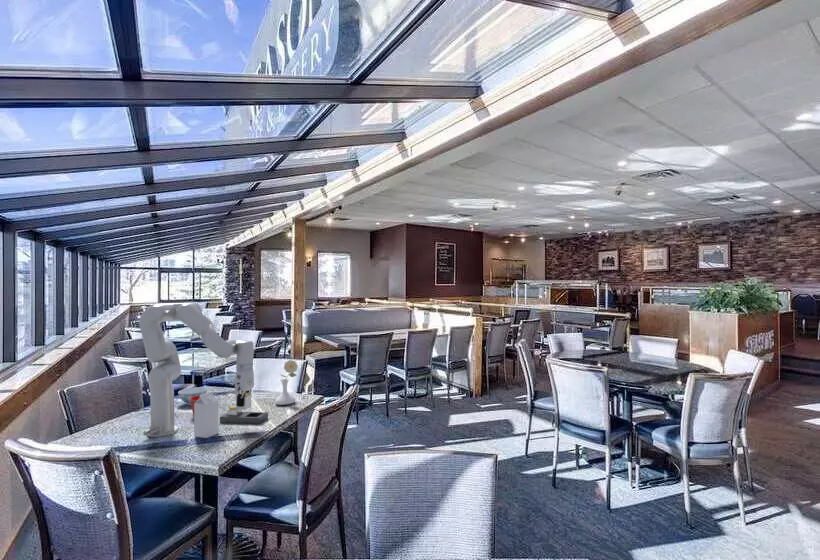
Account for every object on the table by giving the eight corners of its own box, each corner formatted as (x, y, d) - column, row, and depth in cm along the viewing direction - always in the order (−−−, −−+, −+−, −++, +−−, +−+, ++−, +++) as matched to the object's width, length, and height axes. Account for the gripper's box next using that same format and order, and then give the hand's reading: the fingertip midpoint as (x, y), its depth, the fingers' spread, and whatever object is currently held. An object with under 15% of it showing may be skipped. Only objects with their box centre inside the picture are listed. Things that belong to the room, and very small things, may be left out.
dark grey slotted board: (259, 424, 206) (259, 418, 206) (219, 422, 209) (219, 416, 209) (268, 418, 215) (268, 412, 215) (230, 417, 218) (229, 411, 218)
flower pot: (193, 420, 214) (192, 401, 214) (188, 415, 223) (188, 396, 223) (215, 415, 221) (215, 397, 221) (209, 411, 229) (209, 393, 229)
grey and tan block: (245, 409, 198) (245, 394, 198) (235, 409, 199) (236, 394, 199) (250, 406, 203) (251, 392, 203) (241, 406, 204) (241, 391, 204)
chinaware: (174, 404, 245) (174, 390, 245) (200, 398, 256) (200, 385, 256) (184, 408, 235) (184, 395, 235) (211, 402, 246) (211, 389, 246)
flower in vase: (273, 407, 234) (273, 362, 235) (275, 401, 246) (274, 359, 246) (298, 405, 238) (297, 361, 238) (298, 400, 249) (298, 357, 249)
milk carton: (194, 436, 190) (193, 394, 190) (207, 431, 197) (206, 391, 197) (206, 438, 188) (205, 396, 188) (218, 433, 194) (218, 392, 194)
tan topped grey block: (236, 422, 210) (236, 408, 210) (227, 421, 211) (227, 407, 211) (241, 419, 215) (241, 405, 215) (232, 418, 216) (232, 405, 216)
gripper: (242, 370, 193) (241, 410, 192) (260, 363, 209) (259, 400, 209) (227, 369, 194) (225, 409, 193) (246, 363, 210) (245, 399, 210)
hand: (243, 404), depth 201 cm, fingers closed on grey and tan block, 5 cm apart
